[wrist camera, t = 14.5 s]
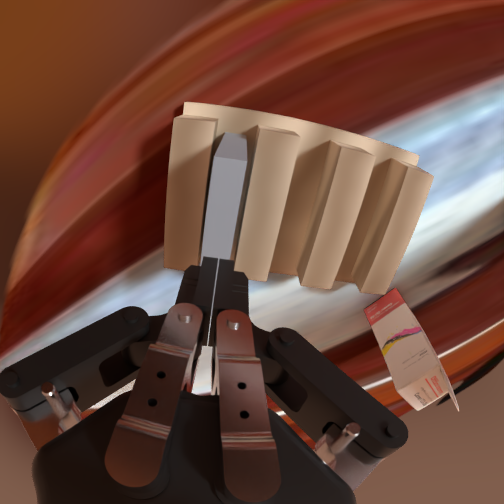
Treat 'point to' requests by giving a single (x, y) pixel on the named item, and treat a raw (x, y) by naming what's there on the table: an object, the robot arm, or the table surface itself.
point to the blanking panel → (224, 197)
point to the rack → (296, 198)
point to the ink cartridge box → (407, 352)
